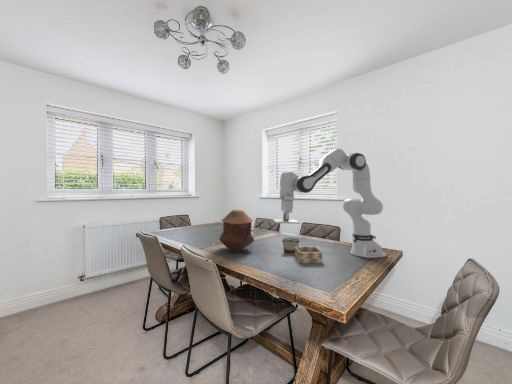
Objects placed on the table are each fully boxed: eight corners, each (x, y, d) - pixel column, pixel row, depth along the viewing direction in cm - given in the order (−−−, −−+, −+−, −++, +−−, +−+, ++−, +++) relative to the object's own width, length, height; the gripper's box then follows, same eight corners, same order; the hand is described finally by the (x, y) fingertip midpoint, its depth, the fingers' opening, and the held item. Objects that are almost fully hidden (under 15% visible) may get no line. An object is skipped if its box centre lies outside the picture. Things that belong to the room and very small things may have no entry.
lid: (294, 220, 156) (295, 213, 156) (300, 223, 141) (300, 215, 141) (273, 220, 155) (273, 213, 155) (275, 223, 140) (276, 215, 140)
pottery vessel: (222, 245, 187) (222, 208, 186) (254, 246, 186) (254, 208, 185) (216, 255, 161) (215, 211, 160) (252, 255, 160) (252, 212, 159)
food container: (298, 251, 170) (298, 237, 170) (299, 253, 164) (299, 239, 164) (281, 251, 171) (281, 237, 171) (281, 253, 165) (281, 239, 165)
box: (315, 256, 157) (315, 246, 157) (322, 263, 143) (322, 252, 143) (294, 257, 156) (295, 246, 156) (299, 263, 142) (299, 252, 142)
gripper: (279, 196, 158) (278, 216, 158) (284, 197, 138) (283, 220, 138) (288, 196, 159) (287, 217, 159) (294, 197, 138) (294, 220, 138)
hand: (286, 218), depth 148 cm, fingers closed on lid, 3 cm apart
